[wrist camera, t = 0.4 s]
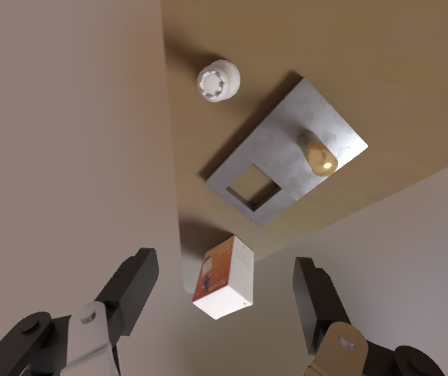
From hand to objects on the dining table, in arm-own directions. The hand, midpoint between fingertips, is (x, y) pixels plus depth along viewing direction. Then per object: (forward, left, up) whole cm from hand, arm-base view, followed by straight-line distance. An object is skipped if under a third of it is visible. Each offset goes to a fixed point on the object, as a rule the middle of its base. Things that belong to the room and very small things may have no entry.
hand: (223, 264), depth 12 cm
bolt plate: (-1, +6, -21) cm, 22 cm away
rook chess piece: (-4, -7, -22) cm, 23 cm away
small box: (+18, +13, -22) cm, 30 cm away
